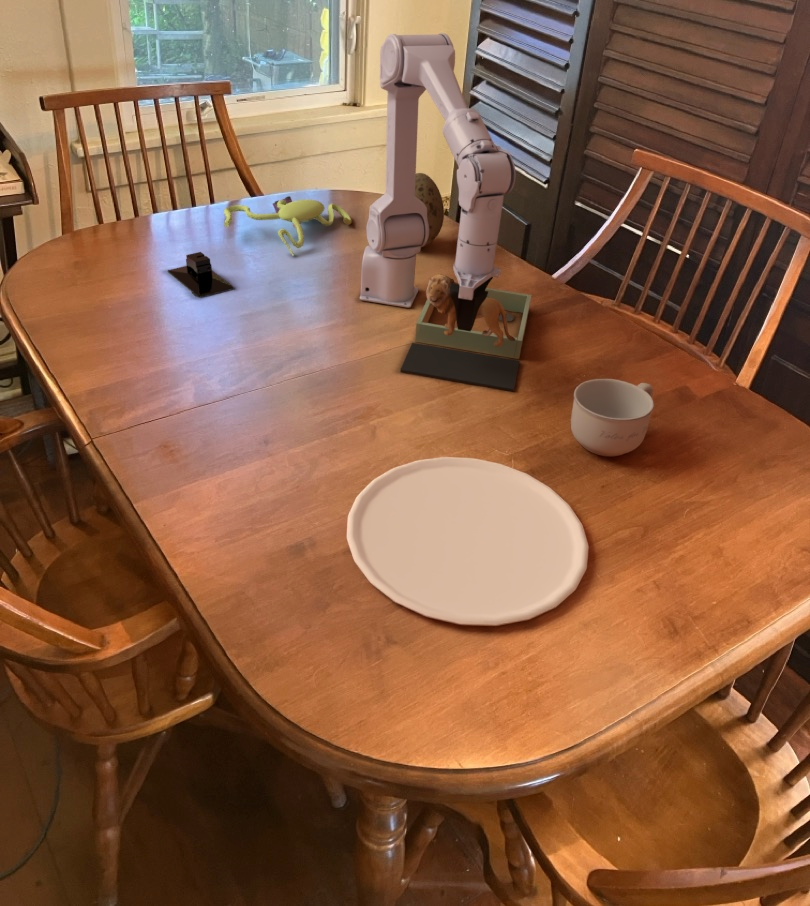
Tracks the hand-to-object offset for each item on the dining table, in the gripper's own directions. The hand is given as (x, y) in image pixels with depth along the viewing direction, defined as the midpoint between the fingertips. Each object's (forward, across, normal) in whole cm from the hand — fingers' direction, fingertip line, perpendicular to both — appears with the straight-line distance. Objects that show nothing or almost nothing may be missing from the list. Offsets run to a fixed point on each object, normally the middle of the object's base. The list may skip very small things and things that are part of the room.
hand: (467, 322), depth 124 cm
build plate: (+8, +15, +51) cm, 54 cm away
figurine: (+8, +42, +44) cm, 62 cm away
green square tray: (+8, +14, 0) cm, 16 cm away
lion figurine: (+2, -1, 0) cm, 2 cm away
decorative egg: (+8, +45, +17) cm, 48 cm away
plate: (+8, -39, -7) cm, 41 cm away
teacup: (+8, -13, -24) cm, 29 cm away
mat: (+8, 0, 0) cm, 8 cm away
